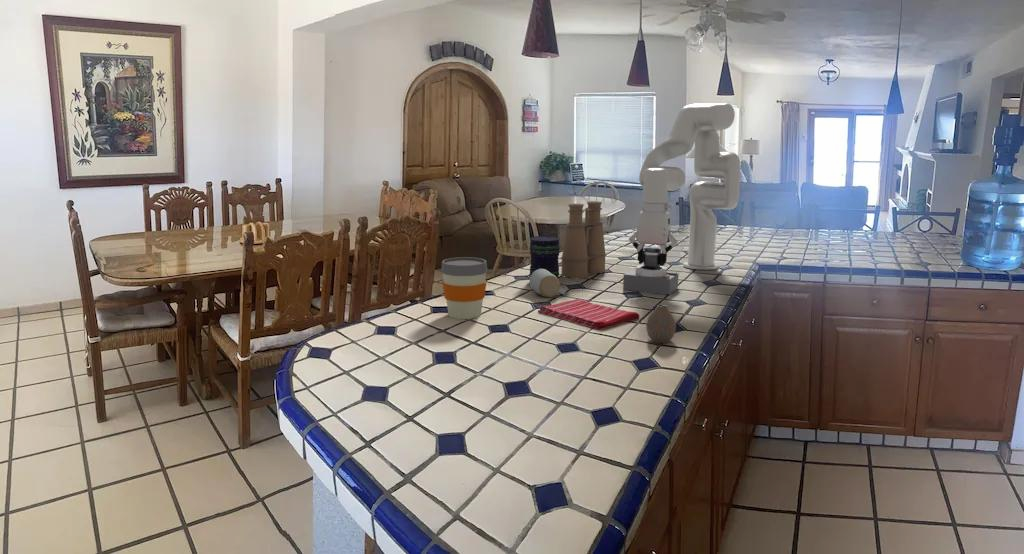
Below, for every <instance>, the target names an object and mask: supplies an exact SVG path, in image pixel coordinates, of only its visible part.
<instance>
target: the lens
mask: <svg viewBox="0 0 1024 554" xmlns="http://www.w3.org/2000/svg"><path fill="white" fill-rule="evenodd" d="M643 250H644V262H643V265H644V268H643V269H648V270H660V255H661V253H662V250H661V248H659V247H656V246H655V247H653V246H651V247H646V248H643Z"/></svg>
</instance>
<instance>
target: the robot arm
mask: <svg viewBox="0 0 1024 554" xmlns="http://www.w3.org/2000/svg"><path fill="white" fill-rule="evenodd" d="M735 116H736V115H735V109H734V107H733V106H732V104H730V103H728V102H725V103H724V102H722V103H721V102H720V103H719V102H718V103H715V102H714V103H713V102H712V103H708V102H707V103H706V102H704V103H703V102H702V103H693V104H687V105H685V106H683V107H682V108H680V109H679V111H678V113H677V115H676V117H675V120H674V122H673V125H672V127H671V131H670V133H669V135H668V137H667V139H666V140H664V141H662V142H661V143H660V144H658V145H657V146H655V147H654V148H653V149H652V150H651V151H650V152H649V153H648V154H647V155H646V157H645V159H644V162H643V164H642V166H641V169H640V172H639V177H638V179H639V184H640V186H641V187H642V207H641V209H642V210H641V211H640V212H639V215H638V216H639V217H638V219H637V220H638V221H637V226H636V231H635V232H634V233H633V234H632V235H631V236H630V237H628V241H629V242H630V243H631V244H632V246H633V247H634V248H635V250H636V252H637V261H638V264H639V265H643V264H644V249H645V248H644V247H645V245H655V246H659V247H660V249H661V255H660V266H663V267H664V266H665V265H666V263H667V258H668V257H667V256H668V252H670V251H671V250H672V249H673V248H674V247H675V246H676V245H678V240H677V239H676V238H675V237H674V236H673V235H672V233H671V232H672V230H671V229H672V227H671V216H670V212H668V211H669V210H672V205H669V203H668V196H669V195H668V194H669V193H668V191H671V192H672V191H678V190H680V189H681V188H683V186H684V184H685V182H686V174H685V172H684V170H683V169H681V168H680V167H677V166H665V165H664V166H662V164H664V163H665V162H667V161H669V160H672V159H676V158H678V157H681V156H683V155H686V154H688V153H689V152H691V151H692V149H693V147H694V155H693V156H694V158H693V159H694V160H693V163H694V164H693V165H694V166H693V167H694V174H695V176H697V177H698V178H700V179H701V178H702V179H711V180H712V179H715V180H716V179H717V180H723V182H717V181H697V182H694V183H693V184H692V185H690V188H689V191H688V192H689V193H688V199H689V206H690V209H689V210H690V212H689V213H690V214H689V215H690V217H689V218H690V220H689V233H688V234H689V235H688V250H687V252H688V254H687V261H684V262H683V265H682V266H683V267H684V268H687V269H691V270H700V271H709V270H710V271H711V270H716V269H718V268H719V264H718V263H716V262H715V257H716V256H715V252H716V243H717V241H716V240H717V226H718V221H717V217H716V215H715V212H713V209H714V210H728V211H729V210H733V209H735V208H736V207H737V206H738V204H739V201H740V186H741V185H740V183H741V160H740V157H739V156H738V154H737V153H735V152H730V151H720V136H719V133H718V132H719V131H722V130H727V129H729V128H730V127H731V126H732V125H733V123H734V120H735ZM717 131H718V132H717ZM670 242H671V243H670ZM667 244H669V245H667Z"/></svg>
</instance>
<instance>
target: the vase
mask: <svg viewBox="0 0 1024 554" xmlns="http://www.w3.org/2000/svg"><path fill="white" fill-rule="evenodd" d="M676 327H677V324H676V320H675V317H674V315H673V313H671V311H670V309H669V307H668V306H667V305H666V304H658V305H656V308H655V309H654V310H653V311H652V312H651V314H650V315H649V316H648V318H647V321H646V332H647V336H648V337H649V339H650V340H651V341H652V342H653V343H658V344H666V343H667V344H668V343H669V342H670V341H671V340H672V339H673V338H674V337H675V334H676V329H677V328H676Z"/></svg>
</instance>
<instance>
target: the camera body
mask: <svg viewBox="0 0 1024 554" xmlns="http://www.w3.org/2000/svg"><path fill="white" fill-rule="evenodd" d="M643 268H644V264H639V265H637V266H636V267H635V268H632V269H630V270H629V271H627V272H625V273H624V274H623V285H622V290H625V291H632V292H633V291H634V292H642V293H649V294H650V293H651V294H657V293H659V295H665V294H669V295H668V296H670V295H671V294H673V293H674V292H675V291H676V290H678V289H679V287H678V286H679V273H678V272H676V271H669V270H668V267H666V266H664V265H663V266H660V270H648V269H643ZM677 288H678V289H677ZM673 291H674V292H673ZM672 292H673V293H672Z"/></svg>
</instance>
